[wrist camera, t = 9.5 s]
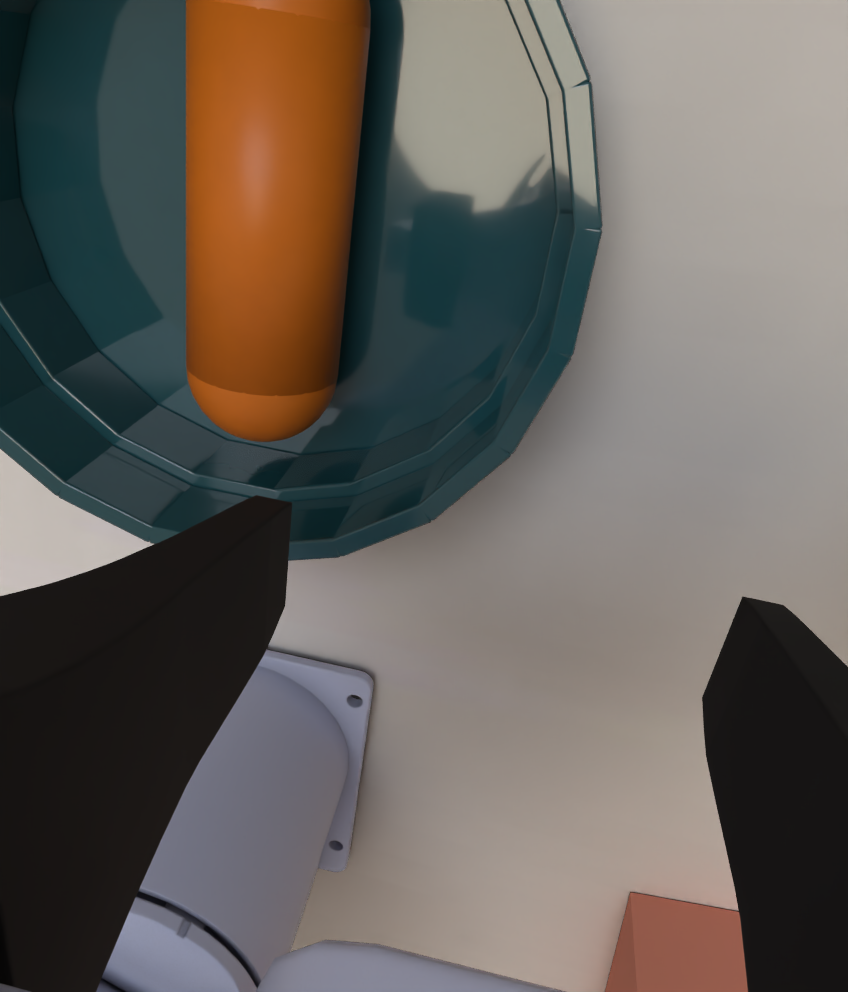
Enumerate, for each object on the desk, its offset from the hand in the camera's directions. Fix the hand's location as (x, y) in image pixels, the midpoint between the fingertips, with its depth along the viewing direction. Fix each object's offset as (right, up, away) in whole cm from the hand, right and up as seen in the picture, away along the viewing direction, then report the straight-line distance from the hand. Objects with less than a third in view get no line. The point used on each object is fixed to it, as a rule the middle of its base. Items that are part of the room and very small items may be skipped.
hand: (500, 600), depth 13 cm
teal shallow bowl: (-5, +9, +7) cm, 12 cm away
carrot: (-5, +9, +6) cm, 12 cm away
